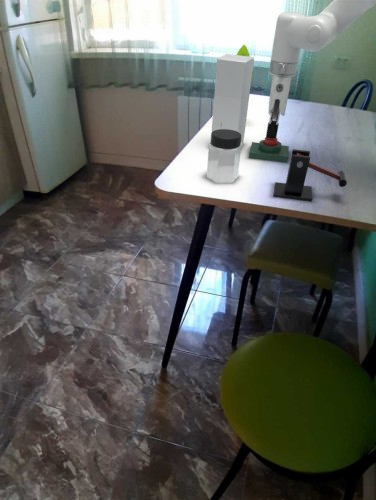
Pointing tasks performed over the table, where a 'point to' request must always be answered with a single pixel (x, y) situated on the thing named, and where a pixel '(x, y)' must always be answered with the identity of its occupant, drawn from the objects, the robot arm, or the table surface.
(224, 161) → the jar
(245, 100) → the tall white carton
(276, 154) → the button box
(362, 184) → the table surface
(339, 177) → the red lever handle
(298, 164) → the lever stand
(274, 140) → the button
